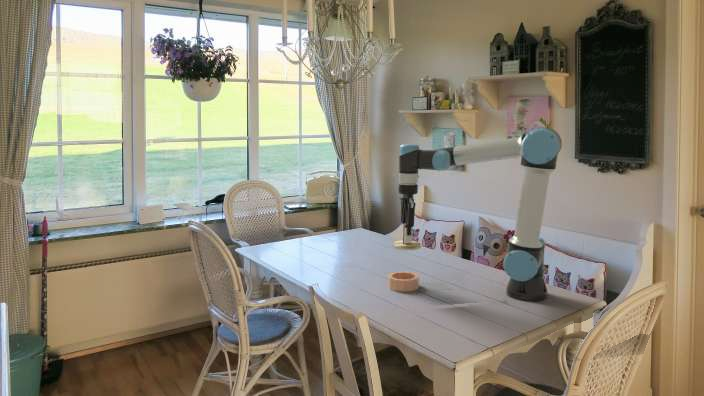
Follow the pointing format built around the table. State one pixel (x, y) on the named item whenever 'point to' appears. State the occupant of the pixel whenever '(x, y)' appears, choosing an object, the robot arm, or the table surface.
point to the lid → (406, 246)
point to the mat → (436, 286)
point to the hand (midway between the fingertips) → (406, 241)
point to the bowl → (403, 281)
